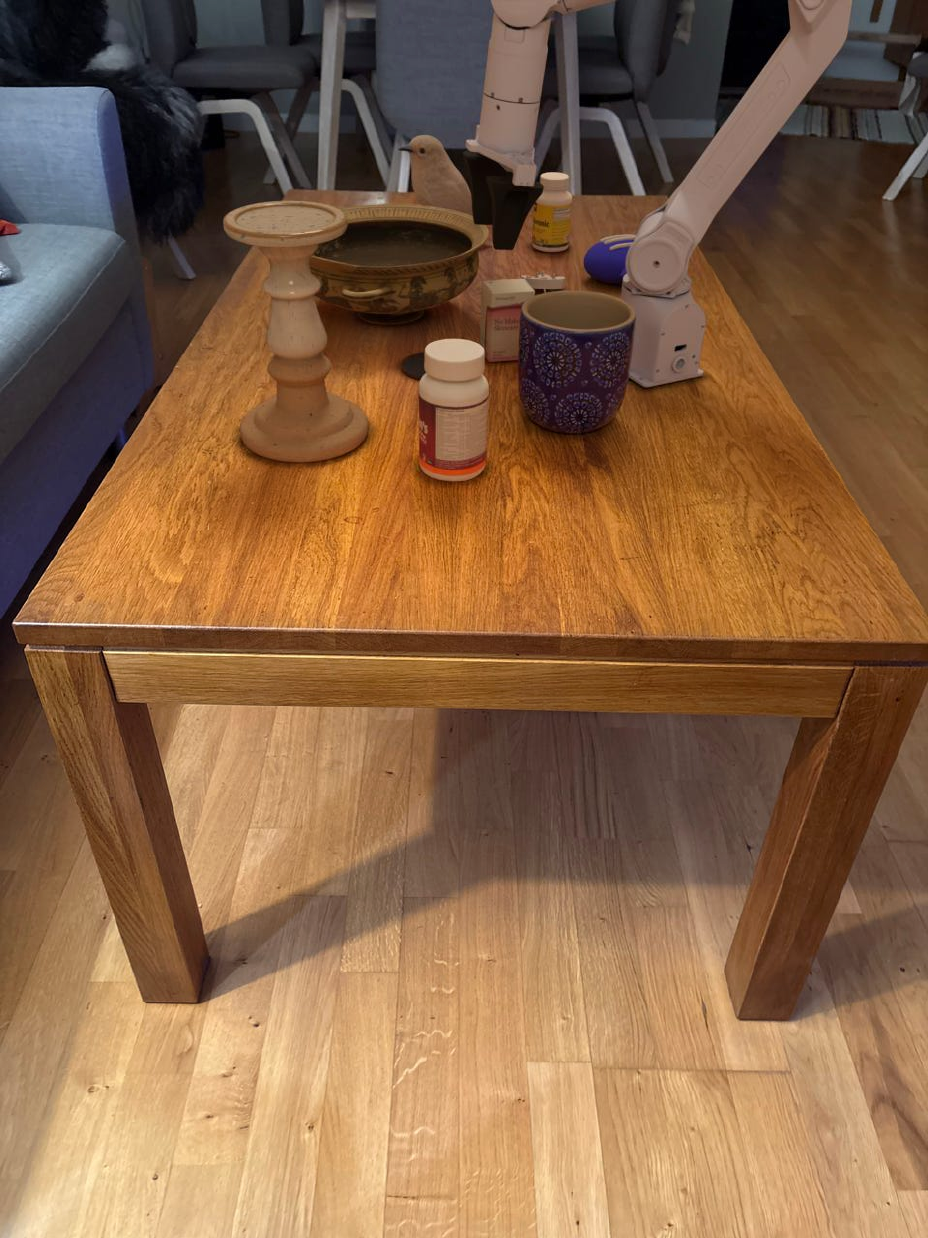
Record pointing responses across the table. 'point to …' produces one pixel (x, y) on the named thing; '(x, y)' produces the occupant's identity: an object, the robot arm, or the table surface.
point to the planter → (574, 358)
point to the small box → (502, 317)
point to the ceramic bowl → (398, 260)
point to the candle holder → (296, 337)
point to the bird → (437, 176)
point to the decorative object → (609, 258)
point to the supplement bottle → (552, 214)
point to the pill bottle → (453, 410)
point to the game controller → (545, 281)
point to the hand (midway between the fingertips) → (492, 235)
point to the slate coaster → (414, 365)
